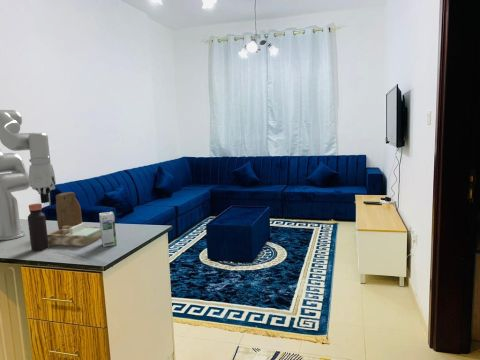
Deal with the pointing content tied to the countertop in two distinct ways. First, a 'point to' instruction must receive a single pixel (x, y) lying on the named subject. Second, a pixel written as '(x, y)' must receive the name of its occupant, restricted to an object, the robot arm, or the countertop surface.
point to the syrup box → (107, 229)
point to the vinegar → (37, 228)
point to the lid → (82, 230)
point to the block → (68, 210)
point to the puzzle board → (71, 238)
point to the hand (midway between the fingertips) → (45, 202)
